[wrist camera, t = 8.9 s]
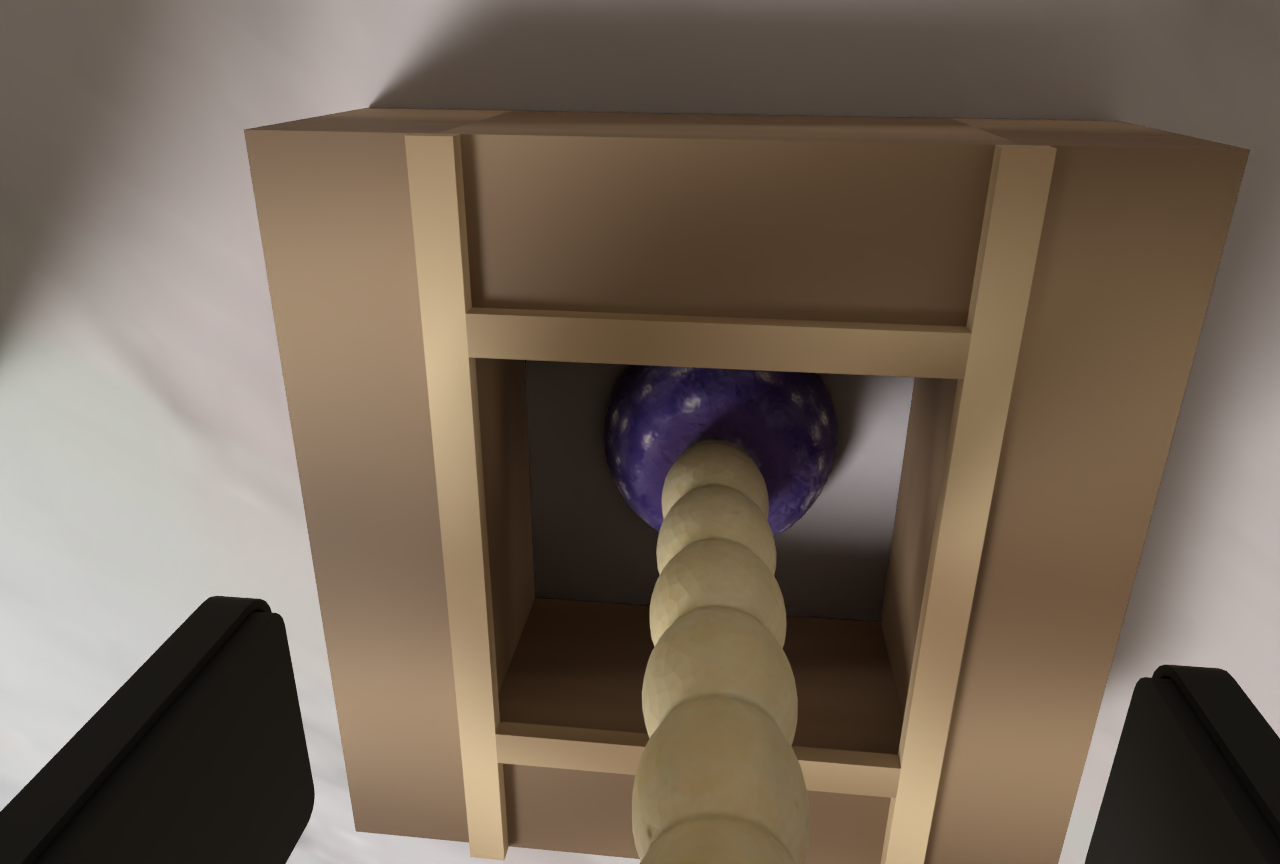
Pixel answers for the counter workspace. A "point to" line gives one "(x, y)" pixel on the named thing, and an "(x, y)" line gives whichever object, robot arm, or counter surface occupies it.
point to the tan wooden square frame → (748, 340)
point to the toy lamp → (719, 602)
